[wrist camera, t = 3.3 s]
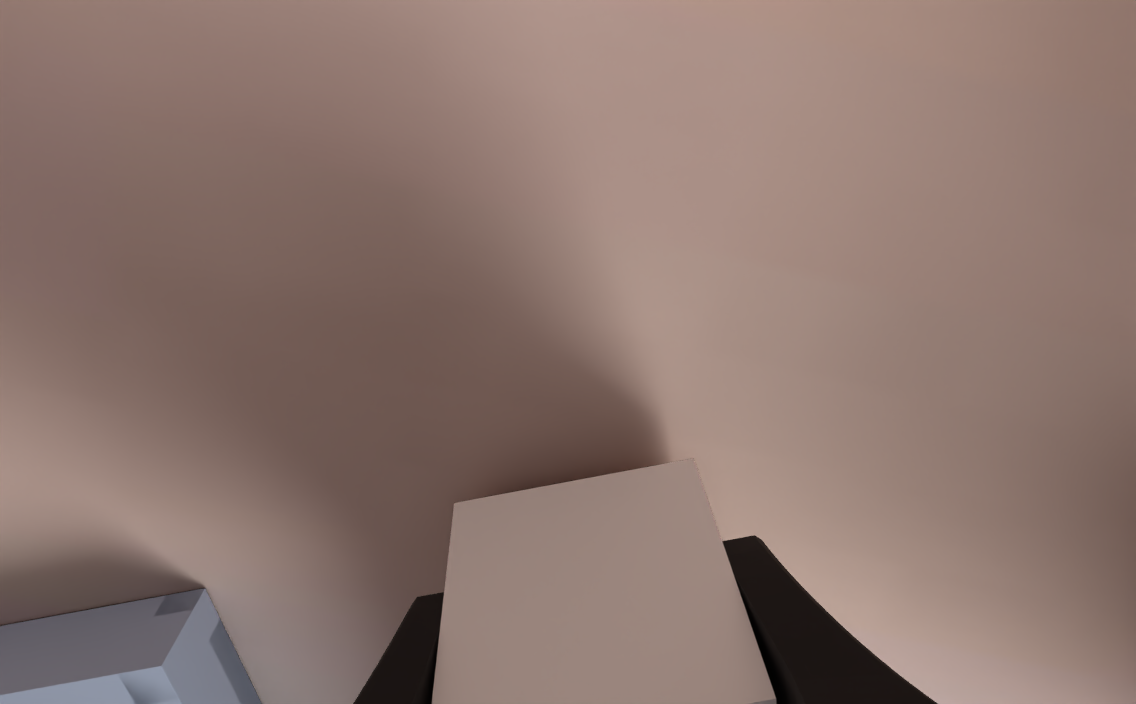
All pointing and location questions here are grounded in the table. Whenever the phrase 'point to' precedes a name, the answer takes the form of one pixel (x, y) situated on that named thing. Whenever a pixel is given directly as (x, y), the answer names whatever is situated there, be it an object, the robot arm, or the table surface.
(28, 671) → the tray
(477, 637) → the white block with knob
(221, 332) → the table surface
